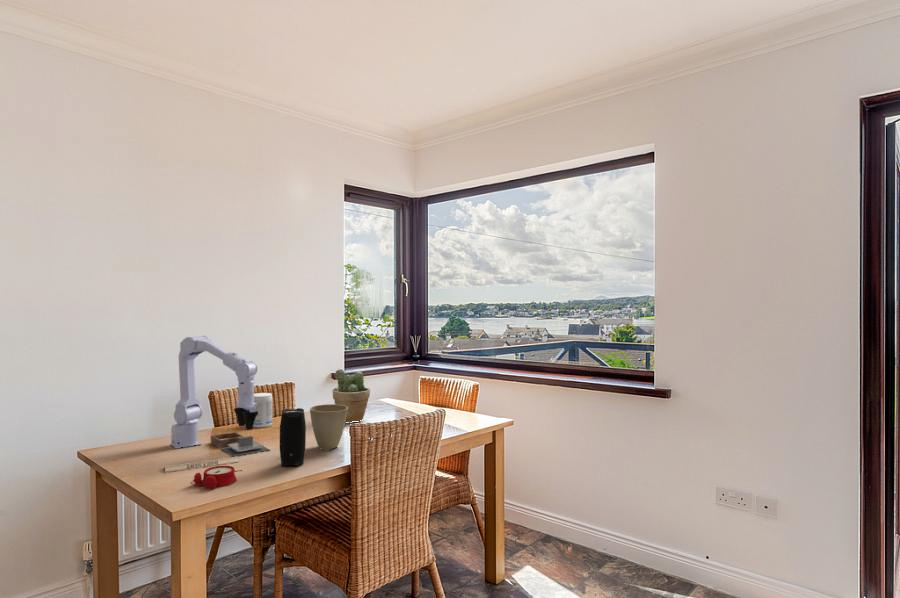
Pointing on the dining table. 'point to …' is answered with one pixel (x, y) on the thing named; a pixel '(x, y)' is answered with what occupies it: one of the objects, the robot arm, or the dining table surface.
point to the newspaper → (200, 464)
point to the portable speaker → (292, 437)
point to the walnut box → (225, 439)
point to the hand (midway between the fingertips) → (245, 427)
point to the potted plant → (351, 394)
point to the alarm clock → (216, 477)
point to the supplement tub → (263, 410)
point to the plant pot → (328, 424)
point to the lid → (245, 444)
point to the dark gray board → (243, 452)
